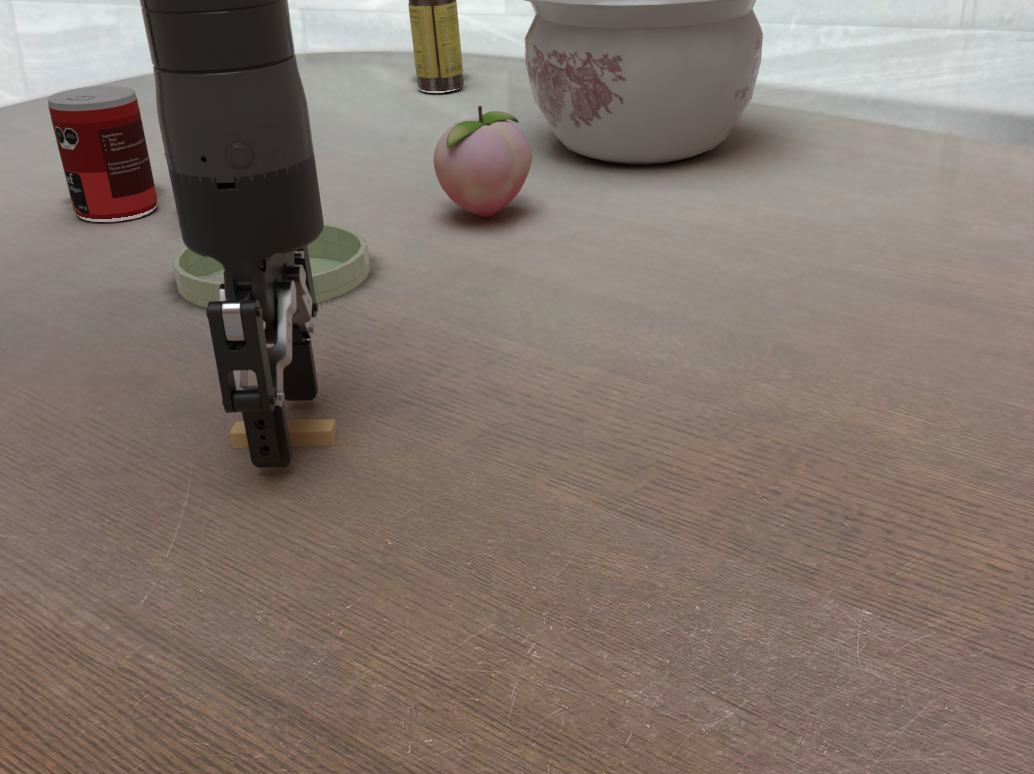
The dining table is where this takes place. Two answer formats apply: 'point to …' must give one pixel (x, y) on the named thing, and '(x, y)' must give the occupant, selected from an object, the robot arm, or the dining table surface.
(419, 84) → the sauce bottle
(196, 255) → the bowl
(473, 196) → the decorative fruit
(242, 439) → the block
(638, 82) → the chamber pot
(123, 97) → the canned food
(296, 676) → the dining table surface
